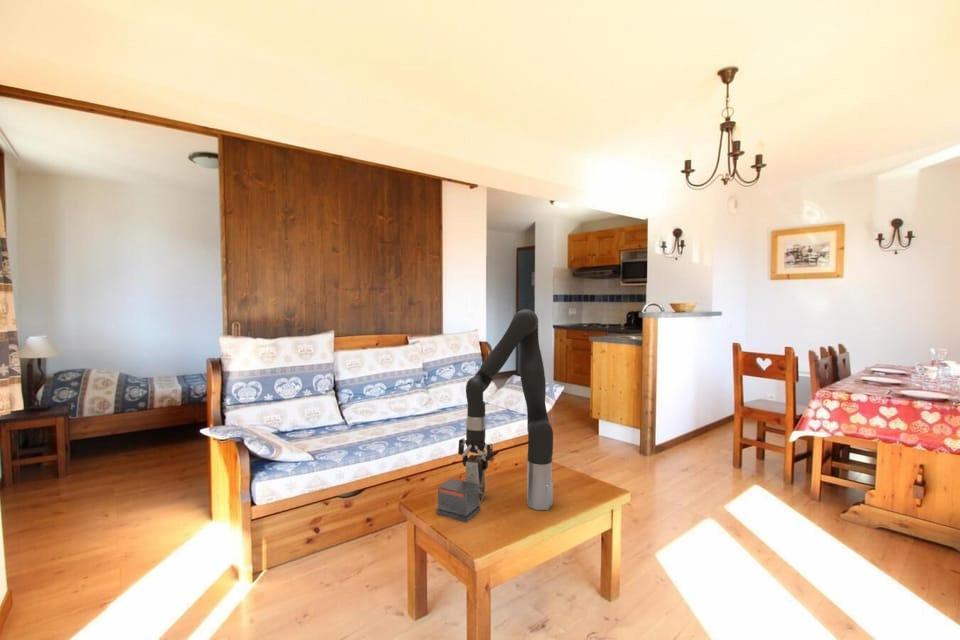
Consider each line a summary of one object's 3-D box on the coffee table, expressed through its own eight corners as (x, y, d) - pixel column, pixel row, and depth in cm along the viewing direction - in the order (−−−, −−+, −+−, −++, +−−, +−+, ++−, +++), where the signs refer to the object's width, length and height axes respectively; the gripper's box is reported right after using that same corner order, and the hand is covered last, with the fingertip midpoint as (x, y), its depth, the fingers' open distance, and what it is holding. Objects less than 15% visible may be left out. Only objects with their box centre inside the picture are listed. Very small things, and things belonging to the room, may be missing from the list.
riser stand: (480, 510, 167) (480, 484, 167) (466, 522, 158) (467, 494, 158) (450, 503, 173) (450, 477, 173) (436, 513, 164) (436, 486, 164)
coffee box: (481, 504, 172) (481, 463, 172) (464, 503, 173) (465, 461, 173) (485, 494, 181) (485, 455, 180) (470, 493, 182) (470, 454, 182)
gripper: (496, 427, 176) (495, 468, 177) (464, 422, 183) (464, 461, 183) (487, 432, 169) (486, 474, 170) (455, 426, 176) (454, 467, 177)
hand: (474, 467), depth 177 cm, fingers open, 8 cm apart
